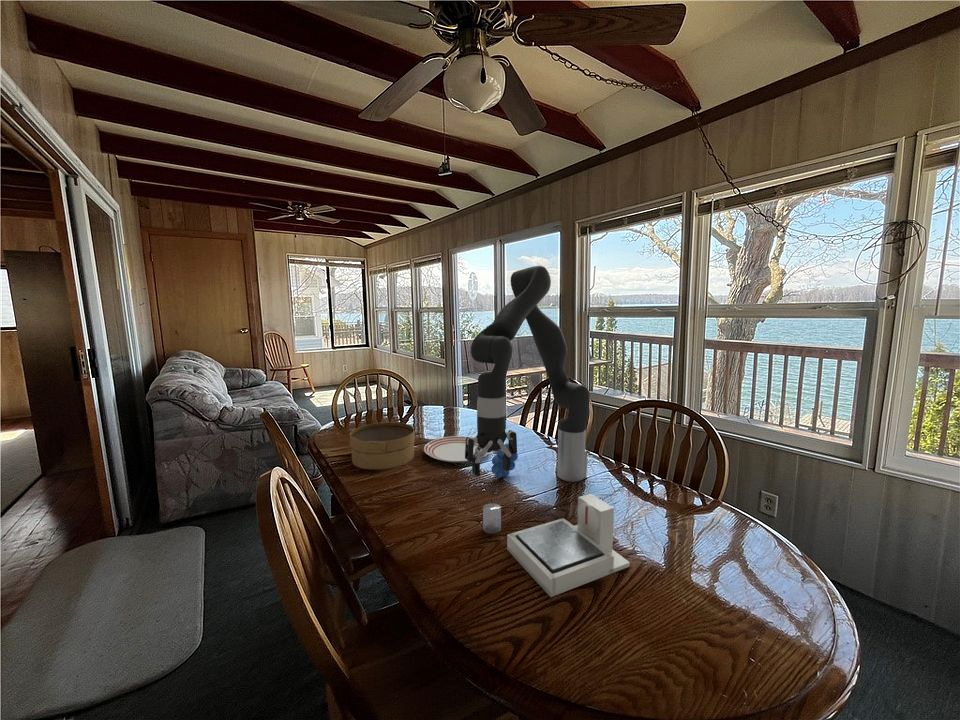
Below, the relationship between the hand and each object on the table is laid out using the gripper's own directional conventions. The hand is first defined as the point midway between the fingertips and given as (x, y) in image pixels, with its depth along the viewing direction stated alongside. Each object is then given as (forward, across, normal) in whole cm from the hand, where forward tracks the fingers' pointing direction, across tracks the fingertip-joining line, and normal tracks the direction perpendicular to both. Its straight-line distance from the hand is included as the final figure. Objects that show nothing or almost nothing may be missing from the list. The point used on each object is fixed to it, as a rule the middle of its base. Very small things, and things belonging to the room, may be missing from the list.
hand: (491, 472), depth 105 cm
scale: (+16, -10, +19) cm, 27 cm away
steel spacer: (+16, 0, 0) cm, 16 cm away
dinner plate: (+16, -13, -55) cm, 59 cm away
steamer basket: (+16, +15, -65) cm, 69 cm away
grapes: (+16, -19, -28) cm, 37 cm away
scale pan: (+12, -8, +19) cm, 24 cm away
